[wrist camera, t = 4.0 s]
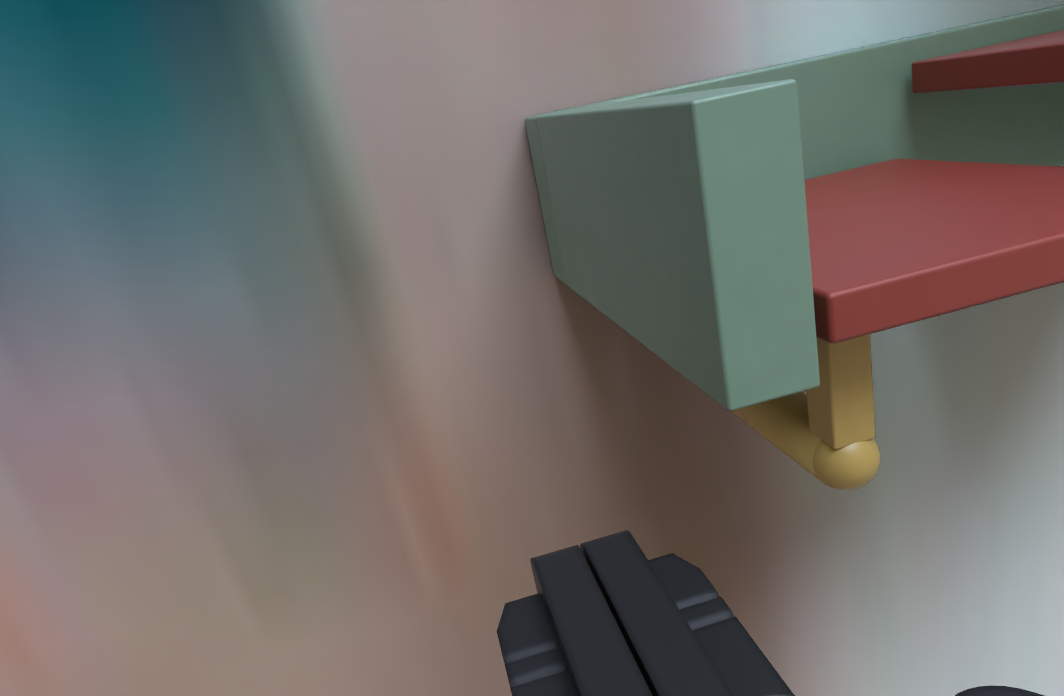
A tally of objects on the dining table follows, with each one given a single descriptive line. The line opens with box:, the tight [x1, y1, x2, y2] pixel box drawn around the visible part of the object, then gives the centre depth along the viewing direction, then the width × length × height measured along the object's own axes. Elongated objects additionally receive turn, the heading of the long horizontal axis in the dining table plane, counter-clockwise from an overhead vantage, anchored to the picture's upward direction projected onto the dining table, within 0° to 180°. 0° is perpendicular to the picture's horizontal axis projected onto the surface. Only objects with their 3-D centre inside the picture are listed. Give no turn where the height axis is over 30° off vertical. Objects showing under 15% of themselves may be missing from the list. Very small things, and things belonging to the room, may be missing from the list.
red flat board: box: [731, 159, 1064, 490], centre depth 16 cm, size 4×8×9 cm, turn 102°
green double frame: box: [525, 5, 1064, 411], centre depth 17 cm, size 4×20×11 cm, turn 102°
